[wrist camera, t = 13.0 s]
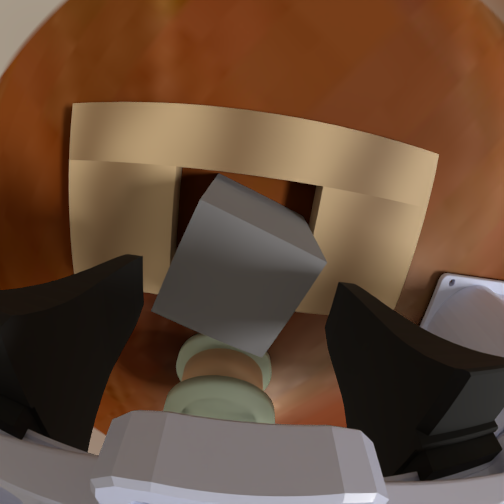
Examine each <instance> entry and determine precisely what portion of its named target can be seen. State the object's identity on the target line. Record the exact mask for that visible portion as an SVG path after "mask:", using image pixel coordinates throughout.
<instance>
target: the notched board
mask: <svg viewBox="0 0 504 504" xmlns="http://www.w3.org/2000/svg"><path fill="white" fill-rule="evenodd" d="M438 157H439V154H436V153H433V152H430V151H427V150H424V149H421V148H418V147H415V146H412V145H408V144H405V143H402V142H398V141H395V140H391V139H388V138H384V137H381V136H377V135H373V134H369V133H365V132H361V131H357V130H353V129H349V128H345V127H340V126H336V125H331V124H327V123H322V122H317V121H312V120H307V119H301V118H296V117H290V116H284V115H278V114H272V113H265V112H258V111H251V110H243V109H235V108H226V107H216V106H205V105H192V104H177V103H154V102H95V103H73V108H72V119H71V132H70V150H69V216H70V235H71V248H72V259H73V269H74V274H76V273H79V272H81V271H84V270H87V269H89V268H92V267H94V266H96V265H99V264H101V263H104V262H106V261H108V260H111V259H113V258H116V257H119V256H122V255H125V254H132V255H138V256H143V292H147V293H153V294H158V293H159V290H160V288H161V286H162V283H163V281H164V279H165V276H166V274H167V271H168V269H169V267H170V264H171V262H172V260H173V258H174V255H175V253H176V244H177V227H178V212H179V199H180V187H181V176H182V167H187V168H197V169H206V170H215V171H223V172H232V173H239V174H247V175H254V176H261V177H268V178H275V179H282V180H288V181H294V182H300V183H306V184H312V185H316V190H315V195H314V200H313V205H312V211H311V216H310V221H309V225H308V226H309V228H310V230H311V232H312V234H313V236H314V238H315V239H316V241H317V243H318V245H319V247H320V249H321V251H322V253H323V255H324V257H325V259H326V261H327V264H326V265H325V267H324V268H323V270H322V271H321V273H320V275H319V276H318V278H317V279H316V281H315V282H314V284H313V285H312V287H311V288H310V290H309V291H308V293H307V294H306V296H305V297H304V299H303V300H302V301H301V303H300V304H299V306H298V307H297V309H296V310H295V312H301V313H311V314H322V315H329V313H330V309H331V306H332V303H333V299H334V296H335V293H336V289H337V286H338V282H345V283H354V284H356V285H358V286H360V287H361V288H363V289H364V290H366V291H367V292H369V293H370V294H371V295H373V296H374V297H376V298H377V299H378V300H380V301H381V302H383V303H384V304H385V305H387V306H388V307H390V308H391V309H392V310H394V309H395V306H396V304H397V301H398V298H399V296H400V293H401V290H402V287H403V285H404V282H405V279H406V276H407V273H408V270H409V267H410V264H411V261H412V258H413V255H414V252H415V248H416V245H417V242H418V239H419V235H420V232H421V228H422V225H423V221H424V217H425V214H426V210H427V206H428V202H429V198H430V194H431V190H432V185H433V181H434V177H435V172H436V167H437V162H438Z"/></svg>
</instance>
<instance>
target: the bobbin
mask: <svg viewBox="0 0 504 504" xmlns="http://www.w3.org/2000/svg"><path fill="white" fill-rule="evenodd" d="M176 371H177V375H178V377H179V379H180V381H181V382H180V383H178V384H176V385H175V386H174V387H173V388H172V389H171V390H170V391H169V393H168V395H167V398H166V402H165V406H164V410H163V411H171V412H176V413H182V414H188V415H195V416H201V417H208V418H216V419H224V420H233V421H244V422H255V423H269V424H275V414H274V406H273V403H272V401H271V399H270V398H269V396H268V395H267V394H266V393H265V392H264V390H265V389H266V387H267V386H268V384H269V382H270V380H271V375H272V371H271V360H270V356H269V354H268V352H267V351H266V353H265V354H264V355H263V357H262V358H261V357H259V356H256V355H253V354H251V353H248V352H246V351H243V350H240V349H238V348H235V347H233V346H230V345H228V344H225V343H223V342H221V341H218V340H216V339H213V338H211V337H209V336H206V335H204V334H201V333H197V334H196V335H194V336H192V337H191V338H189V339H188V340H187V341H186V342H185V343H184V344H183V346H182V347H181V349H180V352H179V355H178V359H177V362H176Z"/></svg>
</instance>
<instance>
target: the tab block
mask: <svg viewBox="0 0 504 504" xmlns="http://www.w3.org/2000/svg"><path fill="white" fill-rule="evenodd" d="M326 264H327V261H326V259H325V257H324V255H323V253H322V251H321V249H320V247H319V245H318V243H317V241H316V239H315V238H314V236H313V234H312V232H311V230H310V228H309V226H308V224H307V222H306V221H305V219H304V217H303V216H302V215H300V214H298V213H296V212H294V211H292V210H290V209H288V208H287V207H285V206H283V205H281V204H279V203H277V202H275V201H273V200H271V199H269V198H267V197H265V196H263V195H261V194H259V193H257V192H255V191H253V190H251V189H249V188H247V187H245V186H243V185H241V184H239V183H237V182H235V181H233V180H231V179H229V178H227V177H225V176H223V175H221V174H219V173H218V175H217V176H216V177H215V179H214V180H213V182H212V183H211V184H210V186H209V187H208V189H207V190H206V192H205V193H204V194H203V196H202V197H201V199H200V201H199V203H198V205H197V207H196V209H195V211H194V213H193V215H192V218H191V220H190V222H189V224H188V226H187V228H186V231H185V233H184V235H183V237H182V240H181V242H180V244H179V246H178V248H177V251H176V253H175V255H174V258H173V260H172V262H171V264H170V267H169V269H168V271H167V274H166V276H165V279H164V281H163V283H162V286H161V288H160V290H159V293H158V295H157V298H156V300H155V303H154V305H153V308H152V310H151V311H152V312H155V313H157V314H159V315H161V316H163V317H165V318H167V319H170V320H172V321H174V322H176V323H179V324H181V325H183V326H185V327H188V328H190V329H192V330H194V331H197V332H199V333H201V334H204V335H206V336H209V337H211V338H213V339H216V340H218V341H221V342H223V343H225V344H228V345H230V346H233V347H235V348H238V349H240V350H243V351H246V352H248V353H251V354H253V355H256V356H259V357H261V358H262V357H263V355H264V354H265V353H266V351H267V350H268V349H269V347H270V346H271V344H272V343H273V342H274V340H275V339H276V337H277V336H278V335H279V333H280V332H281V330H282V329H283V328H284V326H285V325H286V323H287V322H288V320H289V319H290V317H291V316H292V315H293V313H294V312H295V310H296V309H297V307H298V306H299V304H300V303H301V301H302V300H303V299H304V297H305V296H306V294H307V293H308V291H309V290H310V288H311V287H312V285H313V284H314V282H315V281H316V279H317V278H318V276H319V275H320V273H321V271H322V270H323V268H324V267H325V265H326Z"/></svg>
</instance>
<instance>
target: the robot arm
mask: <svg viewBox="0 0 504 504" xmlns="http://www.w3.org/2000/svg"><path fill="white" fill-rule="evenodd" d="M451 280H452V281H451ZM450 281H451V283H449V282H450ZM143 305H144V298H143V256H138V255H132V254H125V255H122V256H119V257H116V258H113V259H111V260H108V261H106V262H104V263H101V264H99V265H96V266H94V267H92V268H89V269H87V270H84V271H81V272H79V273H76V274H73V275H71V276H68V277H65V278H62V279H59V280H55V281H52V282H48V283H44V284H40V285H34V286H29V287H24V288H18V289H9V290H0V504H504V281H500V280H493V279H486V278H479V277H472V276H465V275H458V274H450V273H444V274H442V275H441V276H440V278H439V280H438V283H437V286H436V288H435V291H434V293H433V296H432V298H431V301H430V303H429V306H428V308H427V310H426V313H425V315H424V317H423V320H422V322H421V324H420V327H419V326H417V325H416V324H414V323H412V322H411V321H409V320H408V319H406V318H404V317H403V316H401V315H400V314H398V313H397V312H395V311H394V310H392V309H391V308H390V307H388V306H387V305H385V304H384V303H383V302H381V301H380V300H378V299H377V298H376V297H374V296H373V295H371V294H370V293H369V292H367V291H366V290H364V289H363V288H361V287H360V286H358V285H356V284H354V283H345V282H338V286H337V289H336V293H335V296H334V299H333V303H332V306H331V309H330V313H329V316H328V319H327V322H326V326H325V331H326V339H327V345H328V350H329V354H330V357H331V361H332V364H333V367H334V371H335V374H336V377H337V381H338V384H339V388H340V391H341V394H342V399H343V403H344V409H345V416H346V423H347V428H344V427H337V426H331V425H290V424H269V423H255V422H244V421H233V420H224V419H216V418H208V417H201V416H195V415H188V414H182V413H176V412H171V411H148V410H135V411H131V412H129V413H127V414H124V415H122V416H120V417H117V418H115V419H113V420H112V422H111V425H110V427H109V430H108V433H107V435H106V438H105V441H104V443H103V446H102V448H101V451H100V454H99V455H94V454H91V453H88V447H89V442H90V438H91V433H92V429H93V426H94V422H95V418H96V414H97V411H98V408H99V405H100V401H101V398H102V395H103V392H104V389H105V387H106V384H107V381H108V378H109V376H110V373H111V371H112V369H113V367H114V365H115V363H116V361H117V359H118V357H119V356H120V354H121V352H122V350H123V348H124V346H125V344H126V343H127V341H128V339H129V337H130V335H131V333H132V331H133V330H134V328H135V326H136V324H137V321H138V318H139V316H140V313H141V310H142V307H143Z"/></svg>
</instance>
